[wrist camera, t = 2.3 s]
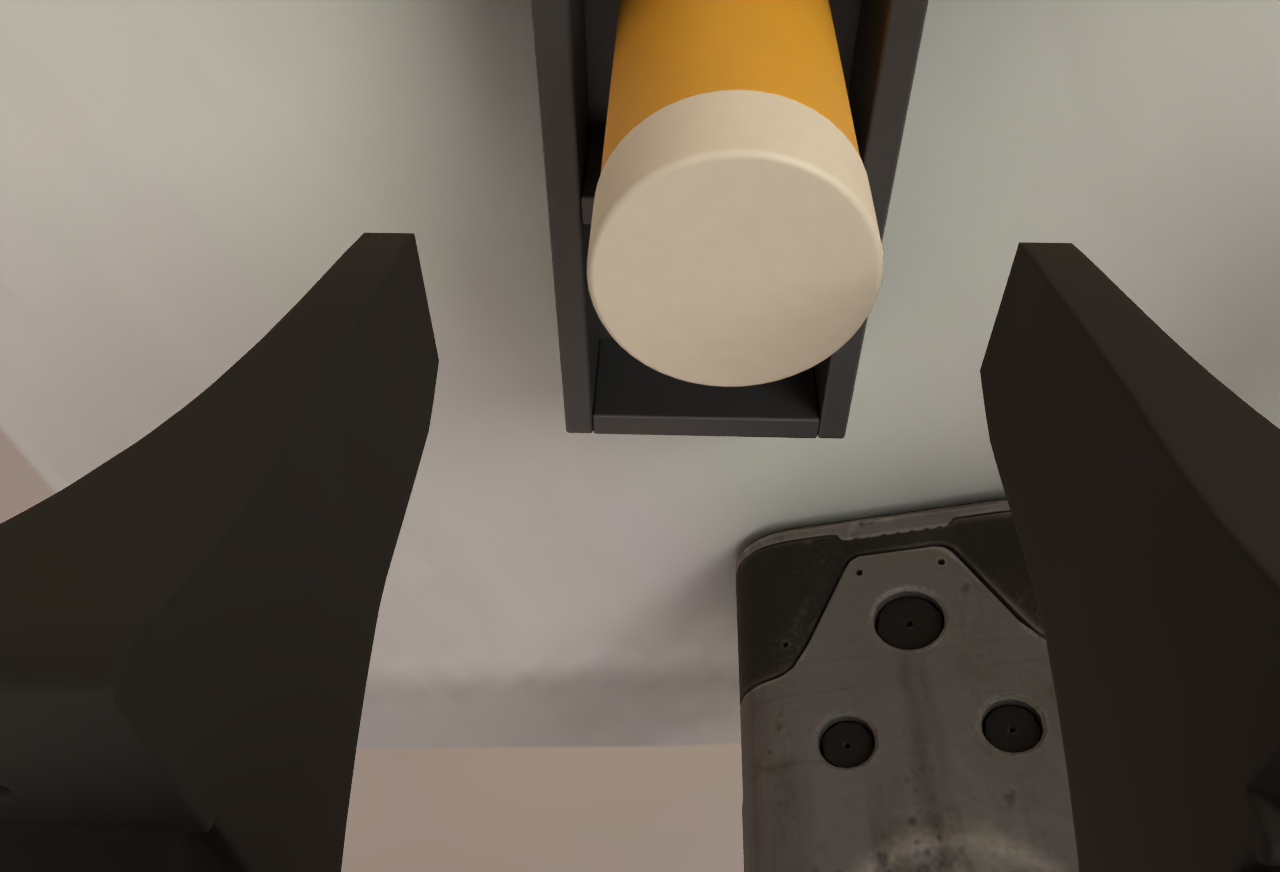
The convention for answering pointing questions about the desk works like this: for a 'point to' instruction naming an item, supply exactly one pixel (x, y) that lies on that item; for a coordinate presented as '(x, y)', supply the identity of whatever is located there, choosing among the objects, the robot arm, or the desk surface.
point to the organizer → (573, 150)
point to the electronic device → (899, 700)
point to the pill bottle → (731, 193)
